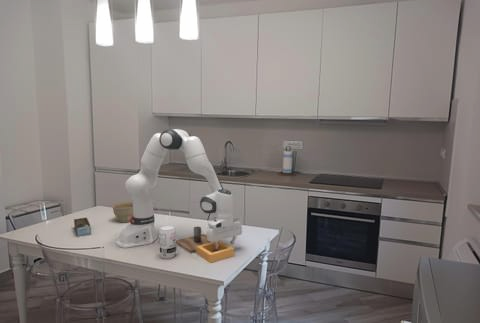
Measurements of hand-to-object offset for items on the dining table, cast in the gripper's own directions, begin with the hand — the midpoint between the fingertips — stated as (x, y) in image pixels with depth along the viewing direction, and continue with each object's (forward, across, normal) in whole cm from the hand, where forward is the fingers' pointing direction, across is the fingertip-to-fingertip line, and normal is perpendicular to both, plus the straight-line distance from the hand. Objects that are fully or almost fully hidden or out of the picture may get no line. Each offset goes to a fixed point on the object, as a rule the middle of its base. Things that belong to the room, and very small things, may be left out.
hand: (225, 246), depth 179 cm
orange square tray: (+3, +6, 0) cm, 7 cm away
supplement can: (+3, +26, -13) cm, 30 cm away
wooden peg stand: (+3, +6, -18) cm, 19 cm away
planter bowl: (+3, +24, -85) cm, 89 cm away
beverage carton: (+3, +53, -79) cm, 95 cm away
